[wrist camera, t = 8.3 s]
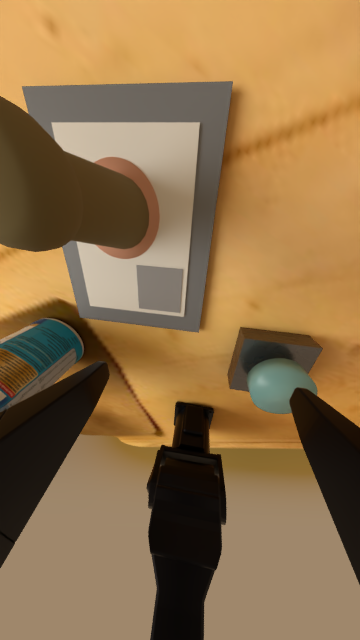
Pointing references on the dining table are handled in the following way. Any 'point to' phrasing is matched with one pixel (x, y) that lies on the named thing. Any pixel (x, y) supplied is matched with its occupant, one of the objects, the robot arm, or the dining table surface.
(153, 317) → the drawing board
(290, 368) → the button
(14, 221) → the brown tapered upright piece
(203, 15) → the dining table surface
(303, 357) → the button housing
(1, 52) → the dining table surface
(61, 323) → the beverage bottle
